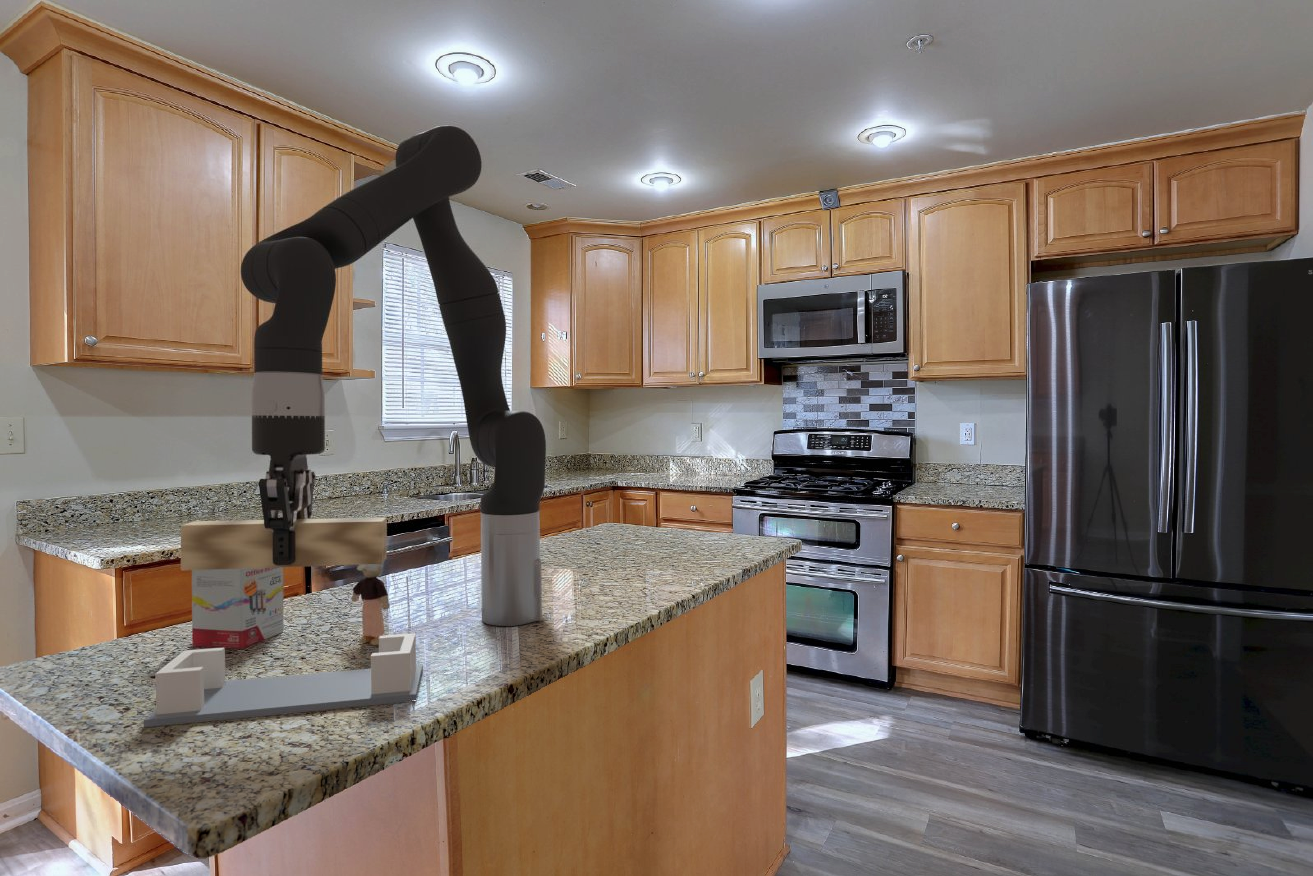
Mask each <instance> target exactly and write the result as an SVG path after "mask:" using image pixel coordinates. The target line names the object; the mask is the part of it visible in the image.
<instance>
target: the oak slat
mask: <svg viewBox="0 0 1313 876" xmlns="http://www.w3.org/2000/svg"><path fill="white" fill-rule="evenodd" d="M387 522H388V518H387V517H354V518H353V517H348V518H347V517H345V518H341V517H339V518H308V519H296V525H297V527H296V530H295V558H296V559H295V562H294V563H293V564H291V565H275V564H273V532H270V529H266V528H265V526H264V519H249V520H248V519H245V520H244V519H243V520H239V519H237V520H236V519H235V520H195V521H190V522H187V523H184V524H181V525H180V571H192V570H212V569H242V568H273V567H283V568H296V567H297V568H299V567H326V566H328V567H329V566H333V567H334V566H359V565H364V564H381V565H382V564H383V563H384V562H385V561H387V559H388V557H387V555H388V554H387V552H388V551H387V549H388V548H387V547H388V546H387V541H388V540H387V536H388V535H387V534H388V533H387V532H388V530H387V529H388V523H387Z"/></svg>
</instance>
